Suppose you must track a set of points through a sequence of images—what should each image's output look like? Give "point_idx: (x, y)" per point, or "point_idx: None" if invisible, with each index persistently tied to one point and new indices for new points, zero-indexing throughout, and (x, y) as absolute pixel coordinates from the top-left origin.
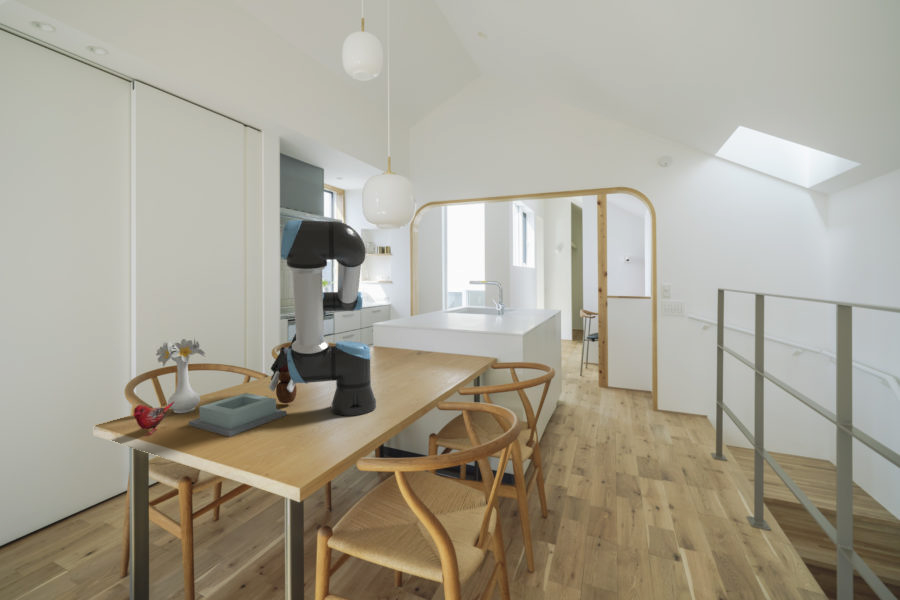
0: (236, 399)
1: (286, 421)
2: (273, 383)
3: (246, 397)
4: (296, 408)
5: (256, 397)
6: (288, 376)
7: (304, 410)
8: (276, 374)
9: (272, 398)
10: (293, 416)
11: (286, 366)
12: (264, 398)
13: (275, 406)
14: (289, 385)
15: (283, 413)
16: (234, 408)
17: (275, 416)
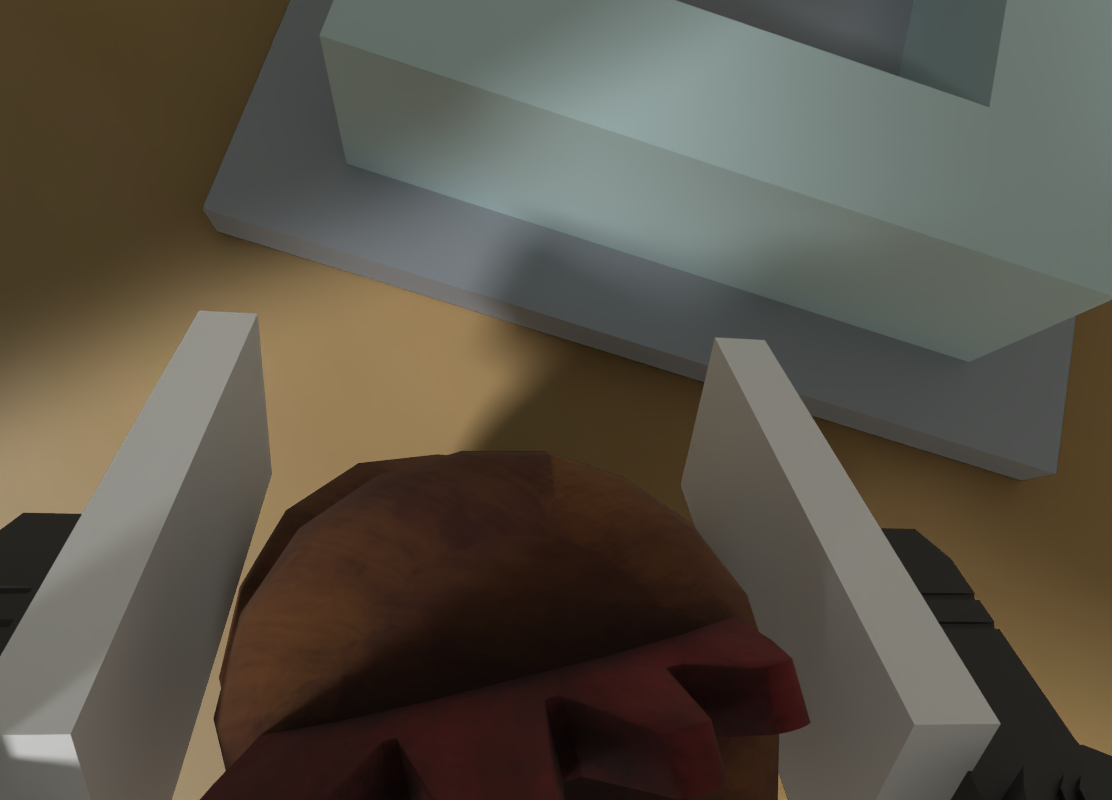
0: (998, 4)
1: (85, 16)
2: (740, 451)
3: (915, 88)
4: None
5: (731, 73)
6: (295, 533)
7: (27, 453)
8: (856, 605)
9: (398, 48)
10: (80, 191)
11: (484, 746)
12: (548, 35)
13: (341, 107)
14: (184, 351)
15: (228, 166)
16: (926, 54)
17: (277, 48)
